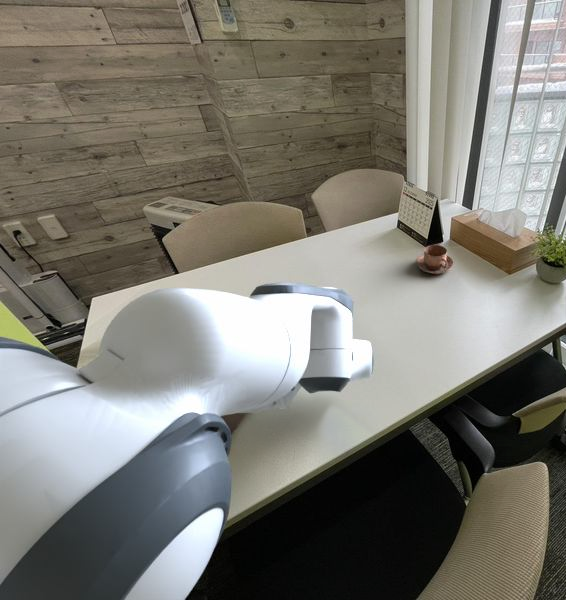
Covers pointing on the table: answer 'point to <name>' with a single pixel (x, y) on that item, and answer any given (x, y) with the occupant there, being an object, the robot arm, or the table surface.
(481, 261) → the table surface
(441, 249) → the cup and saucer
